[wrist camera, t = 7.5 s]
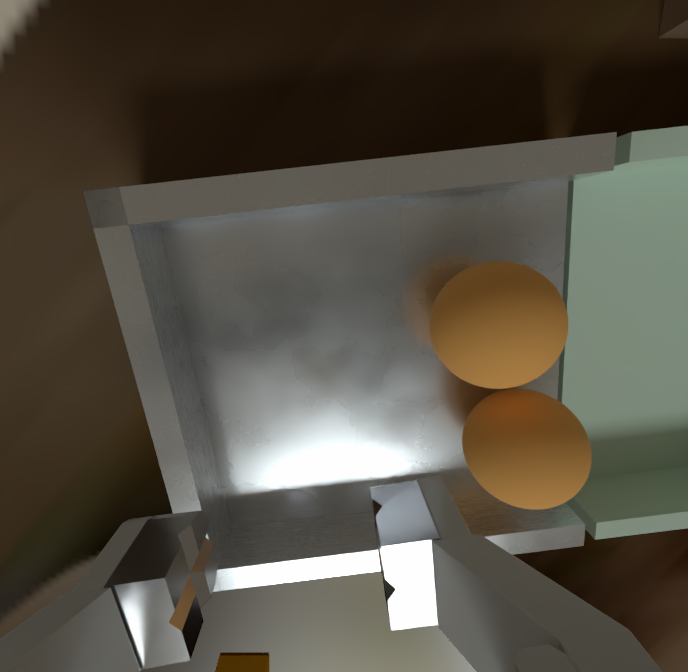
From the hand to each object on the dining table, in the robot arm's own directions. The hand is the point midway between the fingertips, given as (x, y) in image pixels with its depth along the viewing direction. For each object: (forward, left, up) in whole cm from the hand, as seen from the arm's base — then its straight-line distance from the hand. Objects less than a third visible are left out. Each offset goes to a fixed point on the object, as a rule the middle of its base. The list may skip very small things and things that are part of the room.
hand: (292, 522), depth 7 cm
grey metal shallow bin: (-2, -1, -8) cm, 8 cm away
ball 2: (-7, +2, -4) cm, 9 cm away
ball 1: (-6, -3, -4) cm, 8 cm away
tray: (-14, -1, -8) cm, 16 cm away
